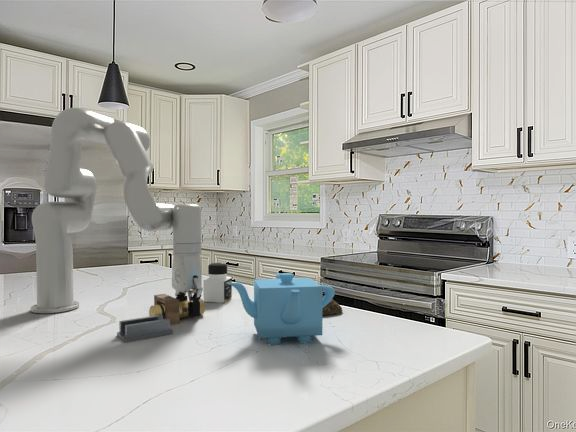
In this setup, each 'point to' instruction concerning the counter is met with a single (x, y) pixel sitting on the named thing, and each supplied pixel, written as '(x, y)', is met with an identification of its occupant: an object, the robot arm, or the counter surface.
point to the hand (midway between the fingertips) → (187, 313)
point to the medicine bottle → (217, 284)
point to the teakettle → (286, 307)
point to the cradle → (143, 328)
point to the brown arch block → (169, 307)
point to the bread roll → (331, 308)
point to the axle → (182, 309)
